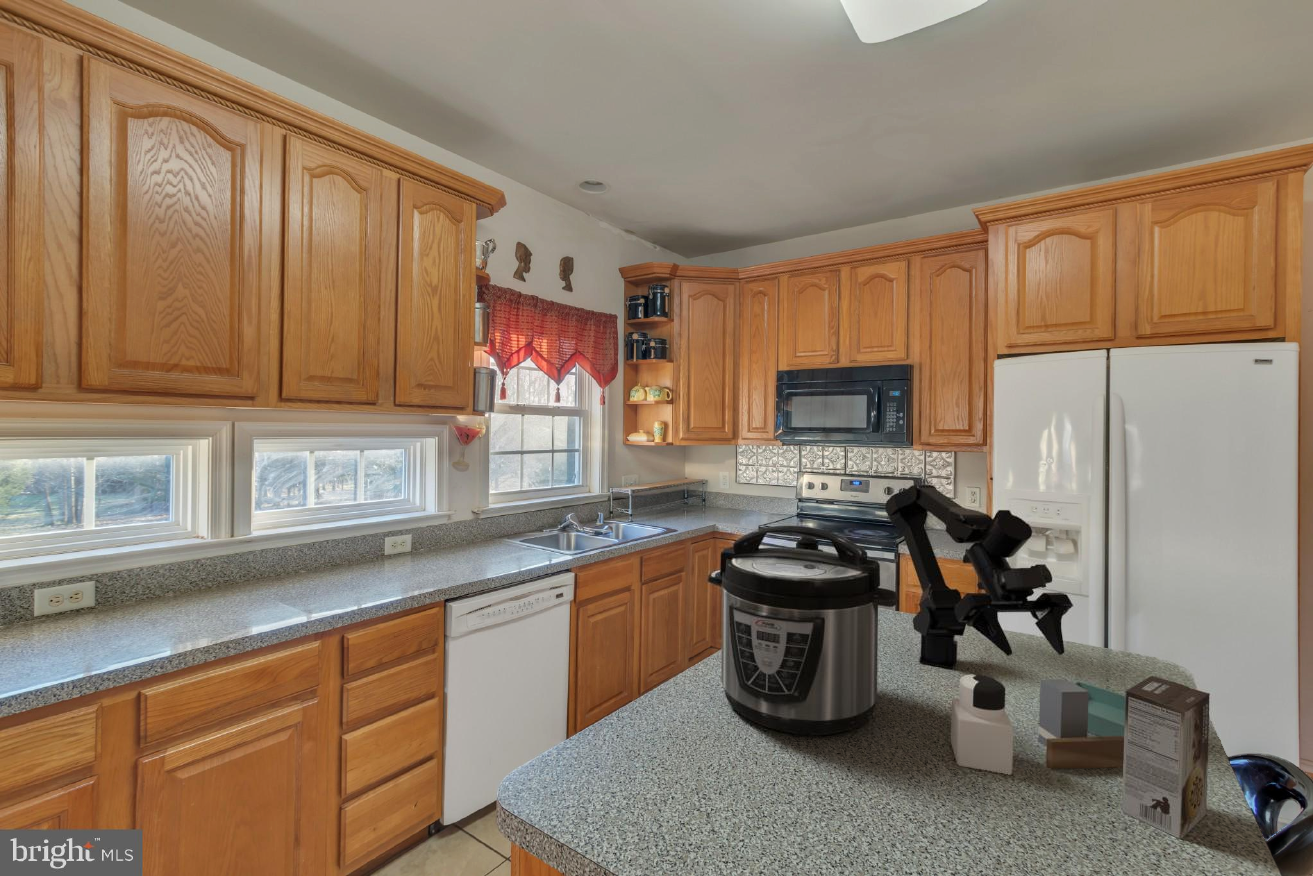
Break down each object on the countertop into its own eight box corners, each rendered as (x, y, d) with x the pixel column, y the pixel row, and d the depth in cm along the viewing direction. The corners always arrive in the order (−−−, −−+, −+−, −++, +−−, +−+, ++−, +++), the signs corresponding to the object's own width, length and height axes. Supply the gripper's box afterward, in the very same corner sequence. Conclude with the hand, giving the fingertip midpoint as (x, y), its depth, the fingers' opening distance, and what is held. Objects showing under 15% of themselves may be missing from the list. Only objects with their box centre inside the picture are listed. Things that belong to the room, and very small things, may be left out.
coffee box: (1146, 789, 82) (1150, 674, 82) (1208, 816, 77) (1212, 692, 77) (1118, 811, 77) (1123, 688, 77) (1182, 841, 72) (1187, 709, 72)
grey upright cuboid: (1038, 741, 95) (1039, 679, 94) (1064, 741, 95) (1066, 679, 95) (1059, 757, 90) (1061, 692, 90) (1087, 756, 90) (1089, 691, 90)
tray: (1041, 714, 104) (1042, 696, 104) (1075, 695, 111) (1075, 679, 111) (1137, 750, 93) (1138, 730, 92) (1167, 726, 100) (1167, 708, 100)
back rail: (1046, 765, 88) (1046, 738, 88) (1120, 762, 89) (1121, 736, 89) (1051, 769, 87) (1052, 742, 87) (1126, 766, 88) (1127, 739, 88)
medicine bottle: (1001, 751, 92) (1004, 674, 91) (1012, 776, 85) (1015, 693, 85) (950, 742, 94) (952, 666, 94) (957, 766, 87) (959, 685, 87)
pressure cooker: (681, 686, 112) (685, 519, 112) (794, 660, 126) (798, 511, 125) (790, 767, 86) (796, 549, 85) (918, 722, 100) (923, 535, 99)
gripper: (965, 547, 102) (1007, 632, 92) (1066, 547, 104) (1119, 631, 93) (938, 580, 110) (974, 663, 100) (1032, 580, 112) (1077, 661, 101)
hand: (1036, 654), depth 98 cm, fingers open, 9 cm apart
